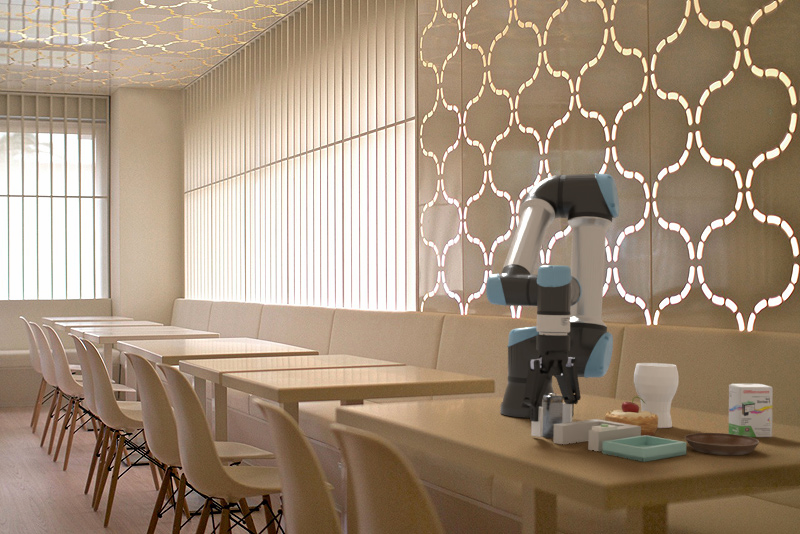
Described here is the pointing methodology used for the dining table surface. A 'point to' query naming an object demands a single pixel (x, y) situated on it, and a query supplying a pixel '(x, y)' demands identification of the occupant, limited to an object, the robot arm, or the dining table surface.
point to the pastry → (634, 417)
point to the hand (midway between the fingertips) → (551, 434)
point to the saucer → (721, 443)
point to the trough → (644, 448)
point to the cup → (657, 389)
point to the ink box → (750, 410)
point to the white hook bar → (593, 432)
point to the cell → (551, 413)
